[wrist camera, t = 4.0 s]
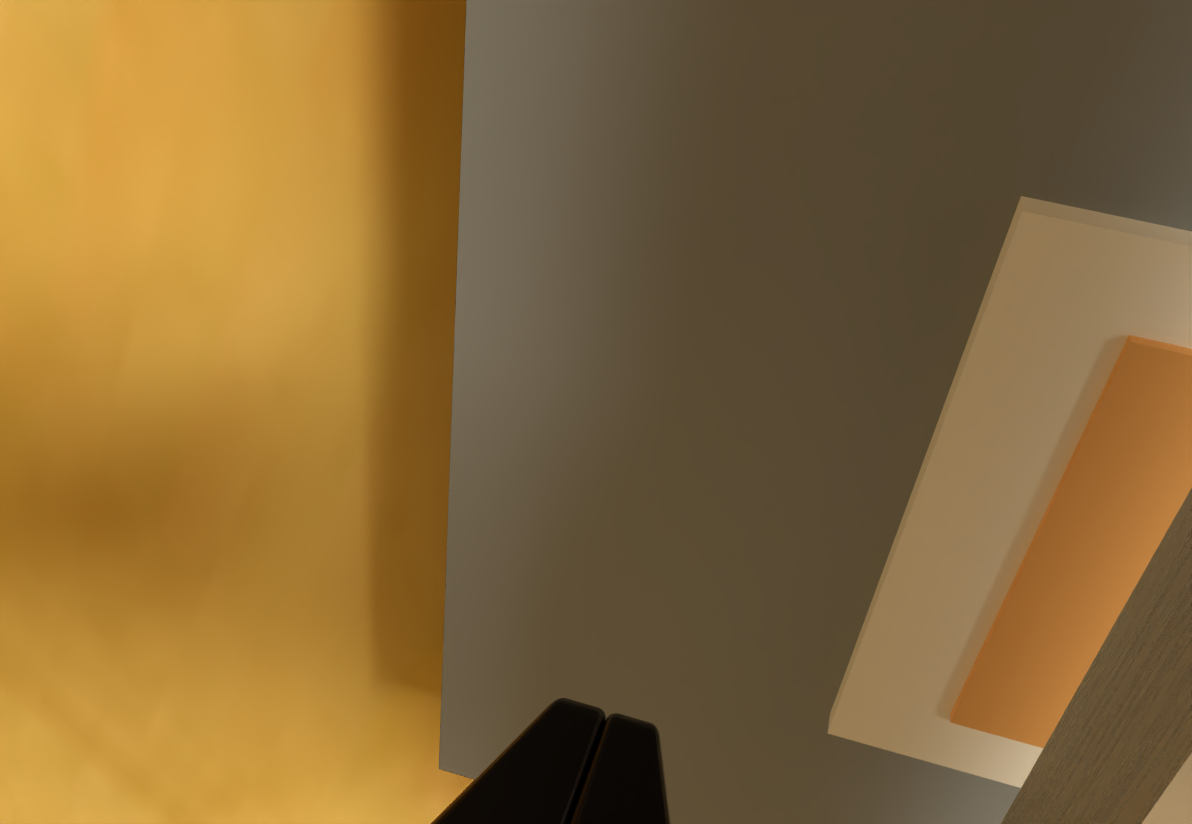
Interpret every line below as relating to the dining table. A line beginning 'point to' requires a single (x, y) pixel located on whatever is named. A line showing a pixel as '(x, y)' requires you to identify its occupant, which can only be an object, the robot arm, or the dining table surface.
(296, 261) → the dining table surface
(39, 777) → the dining table surface
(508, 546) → the label board
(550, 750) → the robot arm
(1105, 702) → the swing arm
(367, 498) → the dining table surface
